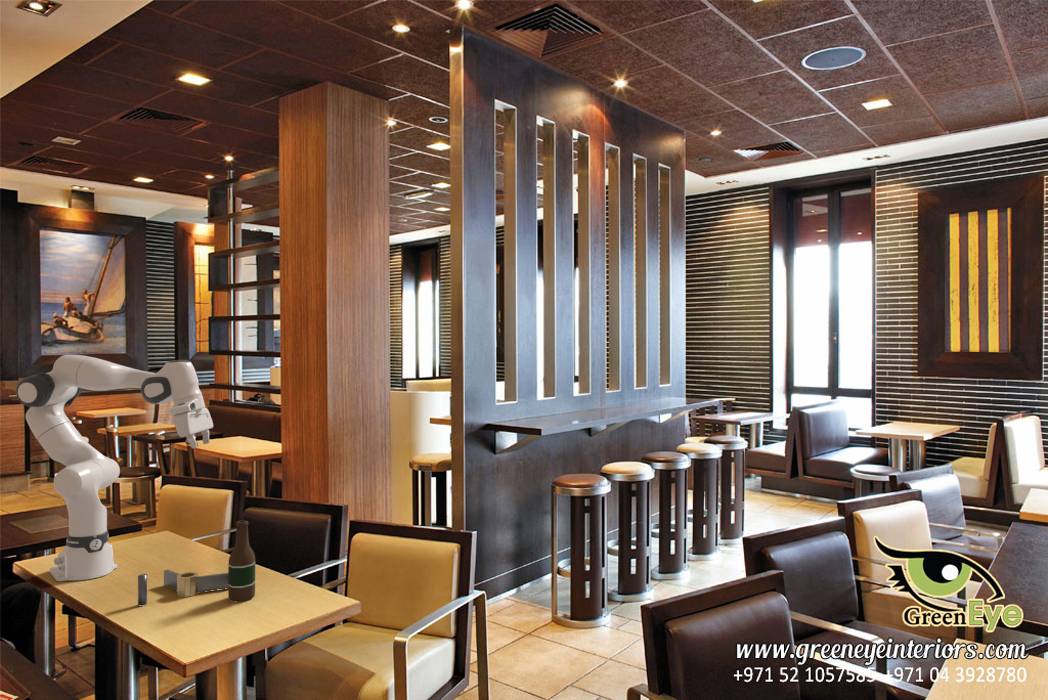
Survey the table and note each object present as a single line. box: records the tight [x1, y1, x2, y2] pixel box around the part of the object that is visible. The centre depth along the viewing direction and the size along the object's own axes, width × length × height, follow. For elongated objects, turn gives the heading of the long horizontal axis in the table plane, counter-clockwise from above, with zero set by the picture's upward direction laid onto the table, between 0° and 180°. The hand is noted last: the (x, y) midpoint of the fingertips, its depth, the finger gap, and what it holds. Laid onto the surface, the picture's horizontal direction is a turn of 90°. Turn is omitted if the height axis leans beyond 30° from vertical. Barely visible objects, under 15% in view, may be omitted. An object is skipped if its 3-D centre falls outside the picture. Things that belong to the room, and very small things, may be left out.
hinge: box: [163, 569, 228, 598], centre depth 223 cm, size 21×15×6 cm
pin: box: [137, 573, 148, 606], centre depth 208 cm, size 2×2×9 cm
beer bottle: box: [227, 519, 256, 603], centre depth 214 cm, size 8×8×24 cm
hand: (201, 445), depth 231 cm, fingers open, 8 cm apart
